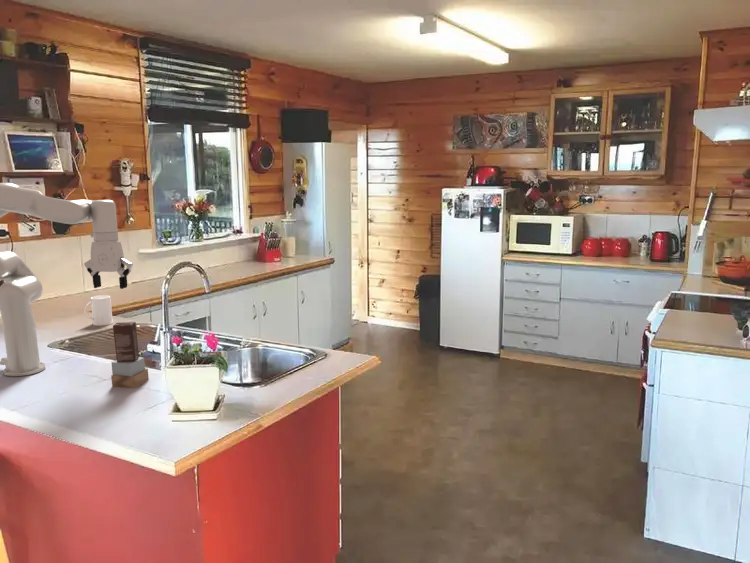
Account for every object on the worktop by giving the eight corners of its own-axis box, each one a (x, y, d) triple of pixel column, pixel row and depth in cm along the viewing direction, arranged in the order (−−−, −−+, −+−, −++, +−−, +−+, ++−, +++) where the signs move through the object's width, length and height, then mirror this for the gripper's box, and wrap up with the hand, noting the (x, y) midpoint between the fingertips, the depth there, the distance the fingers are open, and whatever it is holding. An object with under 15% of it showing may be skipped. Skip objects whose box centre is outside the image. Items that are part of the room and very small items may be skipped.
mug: (89, 328, 272) (86, 301, 269) (81, 324, 278) (79, 298, 275) (116, 323, 280) (114, 296, 277) (108, 319, 286) (106, 294, 283)
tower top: (112, 374, 200) (111, 362, 199) (127, 367, 207) (126, 355, 206) (131, 376, 198) (130, 364, 197) (145, 369, 205) (144, 357, 204)
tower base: (112, 387, 200) (111, 375, 199) (126, 379, 208) (125, 367, 207) (135, 388, 199) (134, 376, 198) (148, 380, 206) (147, 368, 206)
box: (139, 357, 204) (136, 321, 202) (135, 361, 200) (132, 325, 197) (120, 357, 204) (116, 321, 201) (116, 362, 199) (112, 325, 197)
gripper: (75, 238, 208) (80, 289, 211) (123, 239, 205) (127, 290, 208) (89, 235, 215) (94, 284, 219) (136, 236, 212) (140, 286, 215)
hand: (110, 287), depth 213 cm, fingers open, 9 cm apart
